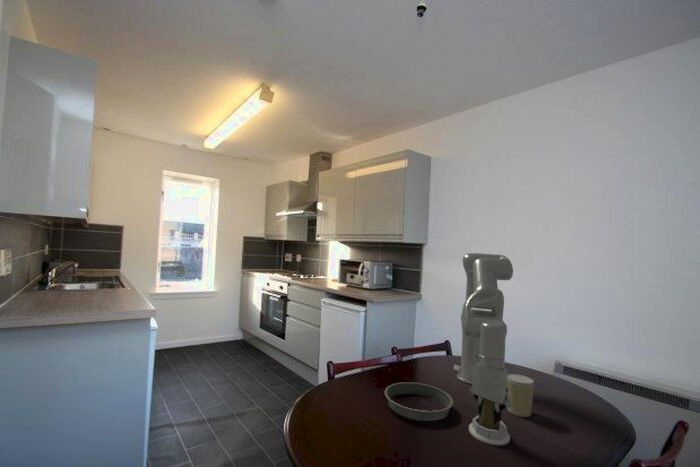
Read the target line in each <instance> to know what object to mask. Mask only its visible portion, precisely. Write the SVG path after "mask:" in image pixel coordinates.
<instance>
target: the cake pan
mask: <svg viewBox="0 0 700 467" xmlns="http://www.w3.org/2000/svg"><path fill="white" fill-rule="evenodd" d="M399 394H419V395H418V396H420V395H424V396H428V397H431V398H434V399H436V400H438V401H439V402H441V403H442V404H443V405H444V406H445V407H446V408H444V409H441V410H433V411H427V410H418V409H412V408H408V407H405V406H402V405H400V404H398V403H396V402H394V401H393V400H391V399H390V398H391V397H393V396H395V395H399ZM384 396H385V397H386V399H387V402H388V407H389V406H390V407H389V409H390V408H391V409H392V410H394V411H395V412H397V413H398V414H400V415H402V416H405V417H408V418H411V419H416V420H423V421H433V420H440V419H442V420H444V419H445V418H447V416H448V415H447V414H449V411H450V409H451V408H452V407H453V406H454V400H453V397H452V396H451V395H450V394H449V393H447V392H446V391H444V390H442V389H441V388H439V387H436V386H432V385H430V384H427V383H421V382H420V383H419V382H409V381H407V382H405V381H403V382H396V383H392V384H390V385H388V386H387V387H386V388H385V390H384ZM399 396H400V395H399ZM424 396H423V397H424ZM428 397H427V398H428ZM431 398H430V399H431ZM391 409H390V410H391ZM392 410H391V411H392ZM395 412H394V413H395ZM398 414H397V415H398ZM443 418H444V419H443ZM440 421H441V420H440Z"/></svg>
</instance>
